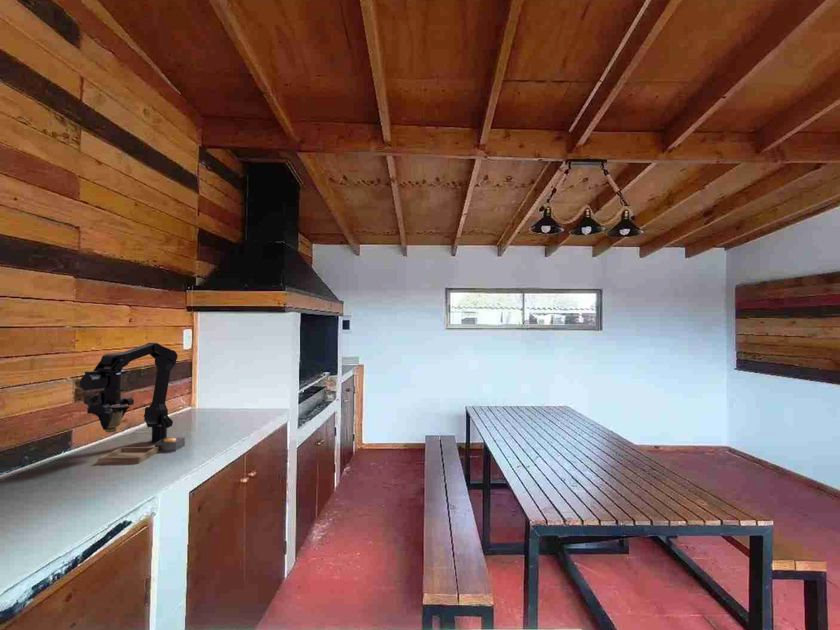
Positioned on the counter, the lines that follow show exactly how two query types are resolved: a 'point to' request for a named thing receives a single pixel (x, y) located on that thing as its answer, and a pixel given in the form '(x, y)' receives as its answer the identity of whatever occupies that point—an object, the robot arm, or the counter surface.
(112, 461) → the wooden tray
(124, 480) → the counter surface
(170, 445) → the panel
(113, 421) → the ornate lamp shade
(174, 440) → the button
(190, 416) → the counter surface
